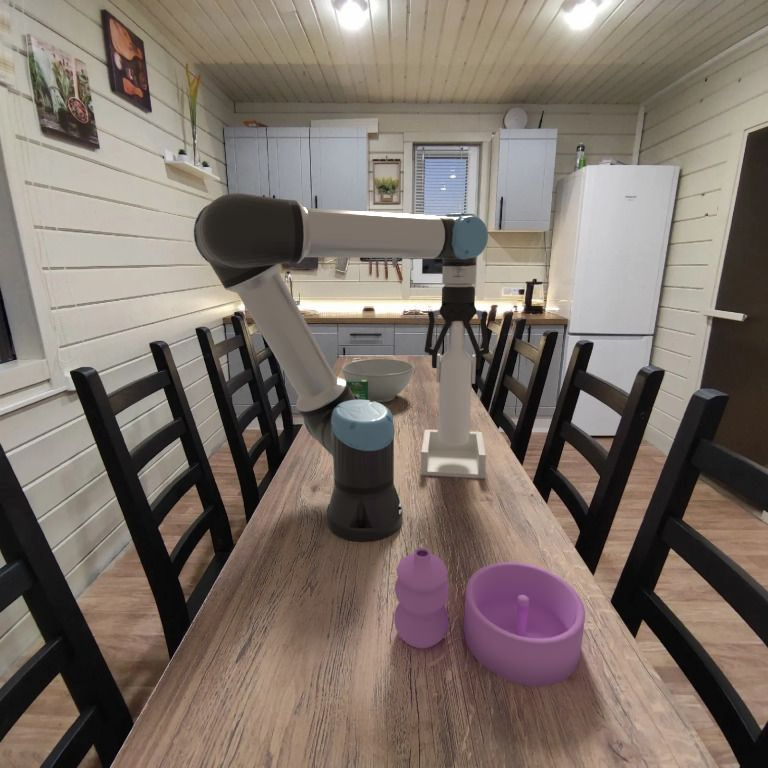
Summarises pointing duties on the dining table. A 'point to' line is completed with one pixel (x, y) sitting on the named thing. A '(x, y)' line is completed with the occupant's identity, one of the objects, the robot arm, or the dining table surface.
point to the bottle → (455, 389)
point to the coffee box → (359, 388)
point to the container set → (496, 617)
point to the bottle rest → (453, 457)
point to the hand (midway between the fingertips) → (455, 381)
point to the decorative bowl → (380, 376)
